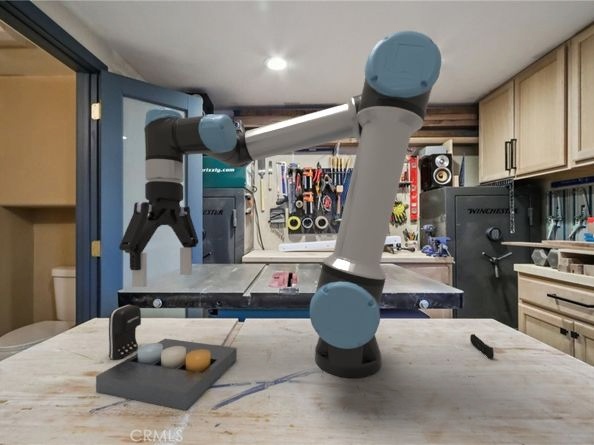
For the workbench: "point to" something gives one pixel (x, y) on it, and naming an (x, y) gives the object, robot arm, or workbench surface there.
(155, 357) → the pale blue button
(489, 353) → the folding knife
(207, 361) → the orange button
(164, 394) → the panel
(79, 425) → the workbench surface
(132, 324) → the battery charger
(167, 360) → the ivory button
